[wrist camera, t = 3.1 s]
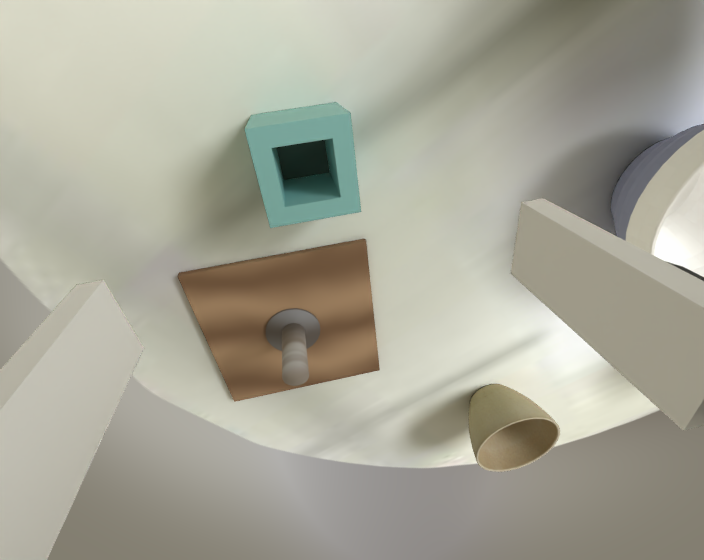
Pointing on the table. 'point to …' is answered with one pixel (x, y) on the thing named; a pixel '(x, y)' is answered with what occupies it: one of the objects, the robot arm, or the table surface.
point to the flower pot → (508, 429)
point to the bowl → (665, 200)
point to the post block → (287, 318)
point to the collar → (310, 191)
